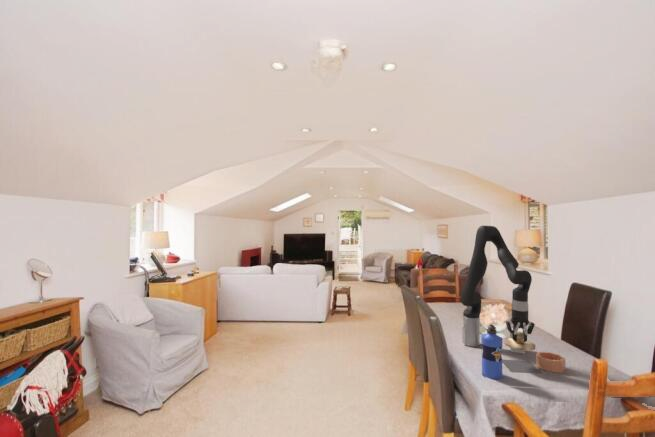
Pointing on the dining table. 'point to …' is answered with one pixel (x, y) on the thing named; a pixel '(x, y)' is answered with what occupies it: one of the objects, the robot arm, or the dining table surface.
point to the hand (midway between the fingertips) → (519, 341)
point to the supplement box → (516, 349)
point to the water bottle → (491, 354)
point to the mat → (521, 366)
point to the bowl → (550, 362)
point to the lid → (520, 343)
